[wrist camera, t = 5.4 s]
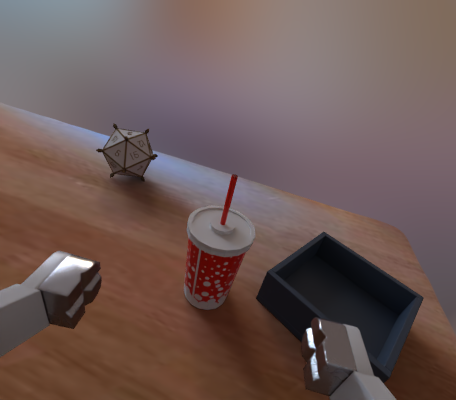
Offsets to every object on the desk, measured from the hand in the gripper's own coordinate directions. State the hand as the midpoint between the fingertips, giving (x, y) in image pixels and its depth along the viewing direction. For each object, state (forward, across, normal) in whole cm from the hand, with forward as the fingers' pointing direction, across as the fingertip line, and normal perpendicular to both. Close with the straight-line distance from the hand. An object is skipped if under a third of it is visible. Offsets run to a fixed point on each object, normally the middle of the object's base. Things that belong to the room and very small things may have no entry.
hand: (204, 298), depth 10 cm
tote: (+14, -14, +15) cm, 25 cm away
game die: (+31, +17, +15) cm, 38 cm away
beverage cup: (+12, 0, +15) cm, 19 cm away
